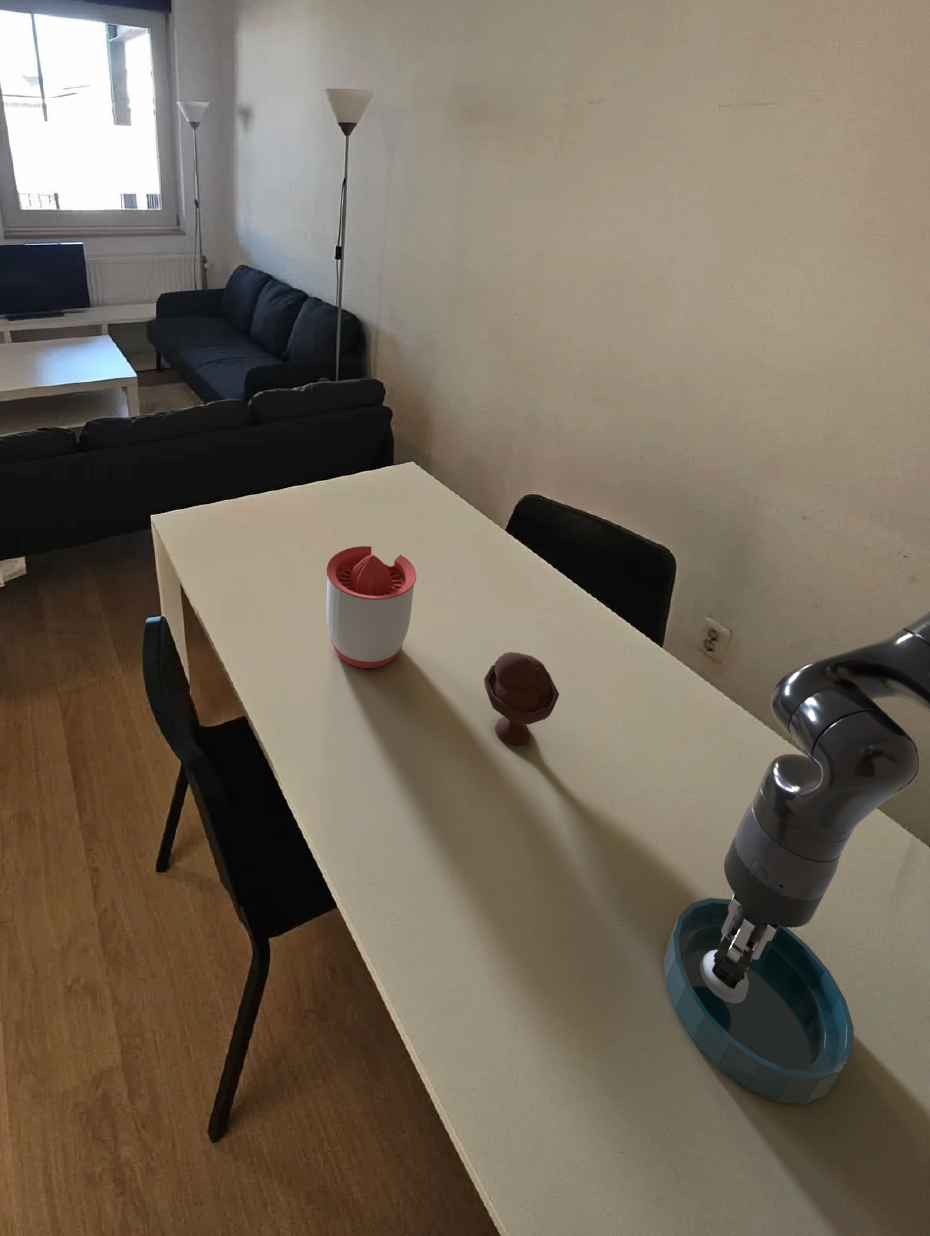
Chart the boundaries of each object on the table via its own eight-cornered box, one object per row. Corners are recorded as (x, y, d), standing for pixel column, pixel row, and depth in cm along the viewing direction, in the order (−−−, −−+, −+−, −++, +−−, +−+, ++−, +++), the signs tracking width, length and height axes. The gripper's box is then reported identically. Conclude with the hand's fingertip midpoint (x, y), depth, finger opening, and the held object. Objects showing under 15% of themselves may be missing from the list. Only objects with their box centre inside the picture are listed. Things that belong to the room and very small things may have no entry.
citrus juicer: (422, 629, 125) (432, 540, 117) (391, 690, 110) (400, 593, 102) (347, 605, 131) (352, 519, 123) (308, 660, 116) (311, 566, 108)
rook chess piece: (708, 948, 73) (728, 903, 70) (752, 984, 70) (775, 939, 66) (691, 977, 70) (711, 932, 67) (736, 1016, 67) (758, 971, 64)
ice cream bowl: (521, 774, 96) (538, 697, 90) (463, 726, 104) (474, 652, 98) (562, 738, 102) (579, 663, 96) (503, 695, 110) (517, 624, 104)
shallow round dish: (778, 930, 77) (791, 903, 75) (875, 1113, 63) (894, 1086, 61) (640, 919, 78) (650, 892, 76) (704, 1098, 63) (718, 1071, 61)
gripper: (804, 944, 55) (745, 1054, 62) (847, 839, 64) (791, 946, 70) (710, 875, 60) (665, 984, 67) (761, 787, 69) (717, 891, 75)
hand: (730, 964), depth 69 cm, fingers closed on rook chess piece, 3 cm apart
